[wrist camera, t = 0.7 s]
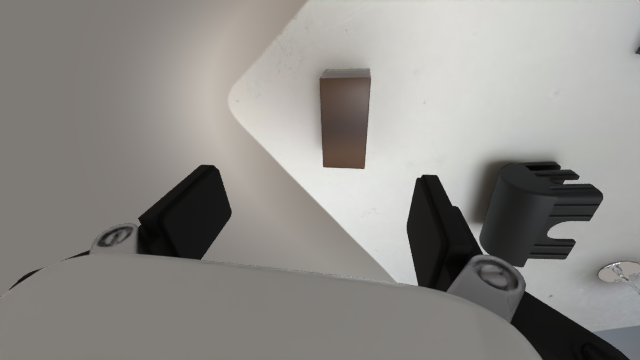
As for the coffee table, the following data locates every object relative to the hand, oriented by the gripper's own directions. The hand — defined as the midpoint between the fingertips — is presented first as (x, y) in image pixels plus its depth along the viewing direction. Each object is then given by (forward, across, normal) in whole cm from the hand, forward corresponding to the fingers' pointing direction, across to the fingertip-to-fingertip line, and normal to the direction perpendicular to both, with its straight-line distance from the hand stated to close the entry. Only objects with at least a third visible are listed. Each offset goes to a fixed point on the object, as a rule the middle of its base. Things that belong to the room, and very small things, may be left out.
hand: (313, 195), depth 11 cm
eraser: (+18, -1, +1) cm, 18 cm away
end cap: (+18, -21, +11) cm, 30 cm away
